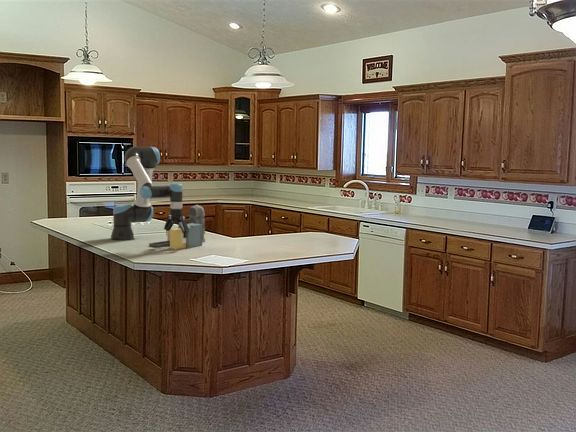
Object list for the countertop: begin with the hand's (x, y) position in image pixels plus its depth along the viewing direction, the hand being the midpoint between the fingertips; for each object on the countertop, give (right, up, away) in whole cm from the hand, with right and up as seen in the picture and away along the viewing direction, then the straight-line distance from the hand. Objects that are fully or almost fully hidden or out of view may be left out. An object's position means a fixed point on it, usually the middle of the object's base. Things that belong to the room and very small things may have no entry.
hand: (176, 242), depth 379 cm
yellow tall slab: (+2, -4, +4) cm, 6 cm away
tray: (-10, -3, +10) cm, 14 cm away
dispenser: (+7, -3, +10) cm, 13 cm away
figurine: (+9, -1, +30) cm, 31 cm away
